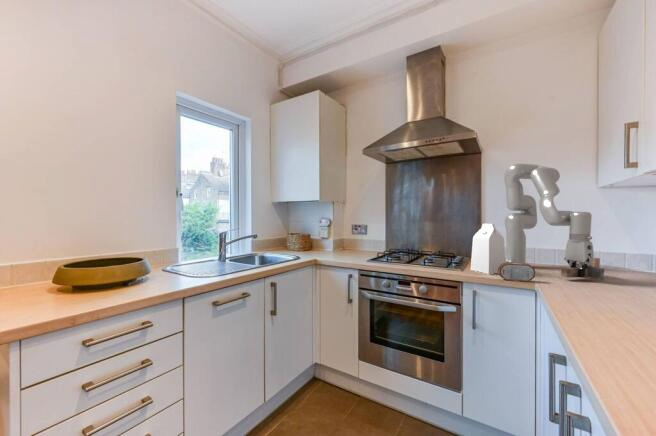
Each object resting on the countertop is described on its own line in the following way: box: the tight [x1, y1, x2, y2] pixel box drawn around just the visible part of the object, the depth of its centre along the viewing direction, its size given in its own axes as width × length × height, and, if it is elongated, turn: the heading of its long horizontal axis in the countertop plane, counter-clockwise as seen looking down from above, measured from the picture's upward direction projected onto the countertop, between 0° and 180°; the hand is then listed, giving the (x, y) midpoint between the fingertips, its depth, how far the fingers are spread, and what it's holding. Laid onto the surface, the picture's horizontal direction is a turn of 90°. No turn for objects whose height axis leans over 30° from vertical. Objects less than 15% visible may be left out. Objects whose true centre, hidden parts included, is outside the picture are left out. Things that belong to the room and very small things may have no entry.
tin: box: [497, 262, 536, 282], centre depth 133 cm, size 15×3×8 cm, turn 74°
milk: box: [470, 222, 506, 275], centre depth 153 cm, size 12×12×26 cm
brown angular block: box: [560, 263, 605, 281], centre depth 135 cm, size 14×12×5 cm
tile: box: [577, 257, 601, 268], centre depth 142 cm, size 2×10×10 cm, turn 7°
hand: (577, 275), depth 135 cm, fingers closed on brown angular block, 3 cm apart
